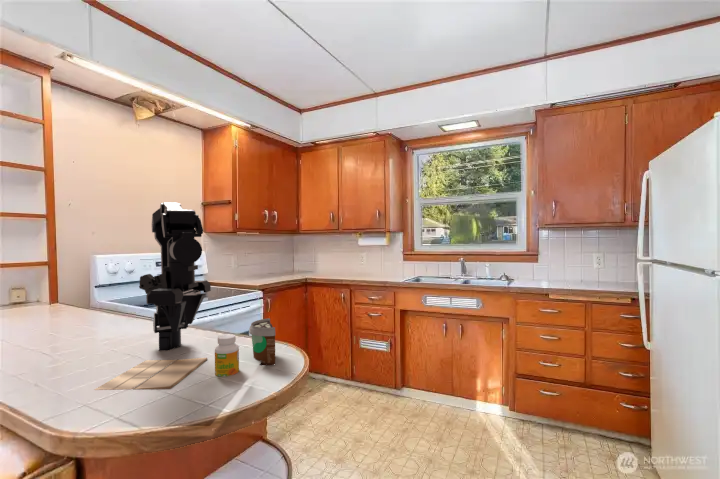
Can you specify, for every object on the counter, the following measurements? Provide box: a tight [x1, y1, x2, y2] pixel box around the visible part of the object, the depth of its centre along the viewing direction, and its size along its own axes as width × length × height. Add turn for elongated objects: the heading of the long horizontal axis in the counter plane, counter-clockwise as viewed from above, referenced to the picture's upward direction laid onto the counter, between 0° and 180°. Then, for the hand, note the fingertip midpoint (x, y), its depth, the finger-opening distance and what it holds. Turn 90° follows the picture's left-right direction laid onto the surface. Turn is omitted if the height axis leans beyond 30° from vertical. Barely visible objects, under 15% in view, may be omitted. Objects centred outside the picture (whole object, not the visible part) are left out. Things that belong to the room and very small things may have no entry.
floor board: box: [93, 359, 176, 391], centre depth 84 cm, size 18×8×1 cm, turn 0°
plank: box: [132, 357, 208, 390], centre depth 84 cm, size 18×8×1 cm, turn 0°
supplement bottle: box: [214, 333, 240, 377], centre depth 84 cm, size 5×5×10 cm
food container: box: [248, 318, 276, 366], centre depth 95 cm, size 12×6×10 cm, turn 21°
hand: (182, 327), depth 84 cm, fingers open, 6 cm apart
